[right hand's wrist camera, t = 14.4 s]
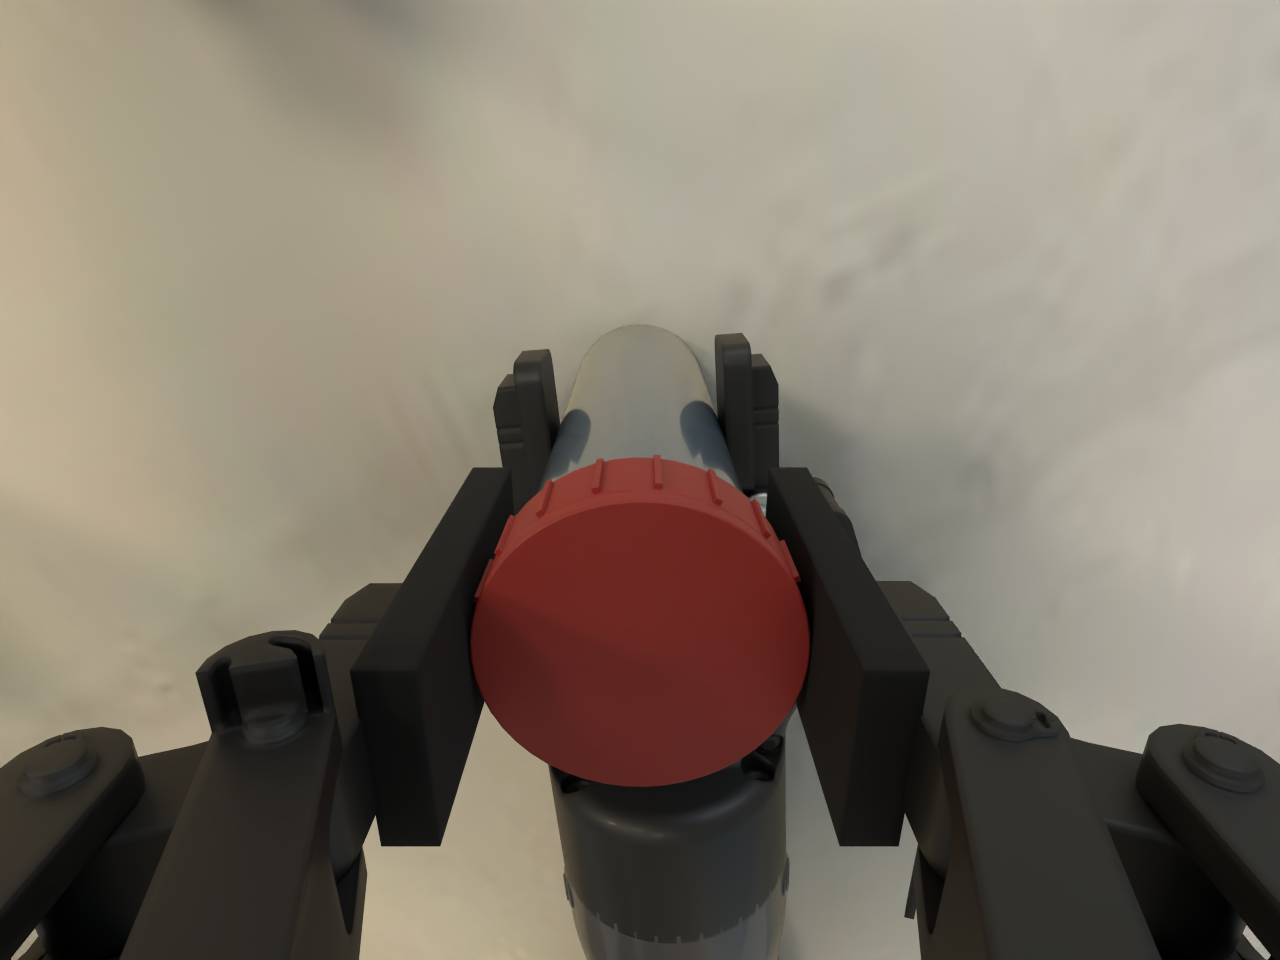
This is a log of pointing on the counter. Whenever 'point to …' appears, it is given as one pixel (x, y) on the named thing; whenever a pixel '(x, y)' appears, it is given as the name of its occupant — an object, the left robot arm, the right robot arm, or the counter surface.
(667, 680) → the lid
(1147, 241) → the counter surface
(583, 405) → the jar
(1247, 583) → the counter surface
